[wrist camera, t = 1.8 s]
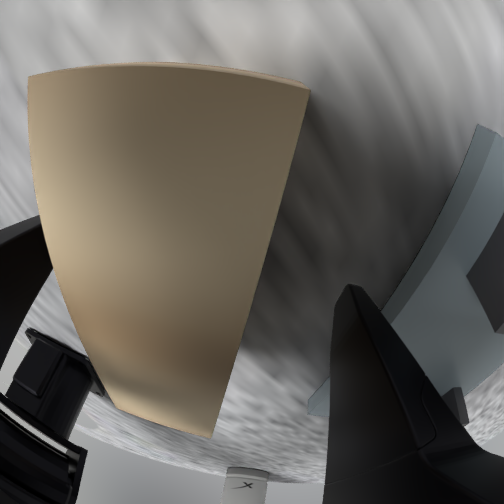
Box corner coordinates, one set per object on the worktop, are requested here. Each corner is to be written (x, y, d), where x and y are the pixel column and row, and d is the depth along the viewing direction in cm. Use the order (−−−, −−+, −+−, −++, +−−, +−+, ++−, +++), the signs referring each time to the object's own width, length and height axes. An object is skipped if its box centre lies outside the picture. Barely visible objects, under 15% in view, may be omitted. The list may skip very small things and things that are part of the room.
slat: (235, 332, 12) (211, 438, 8) (160, 311, 12) (116, 408, 8) (300, 81, 6) (310, 90, 2) (171, 62, 6) (28, 76, 2)
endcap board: (431, 406, 15) (437, 447, 12) (308, 400, 15) (304, 453, 12) (584, 225, 6) (621, 269, 3) (477, 124, 5) (556, 167, 3)
